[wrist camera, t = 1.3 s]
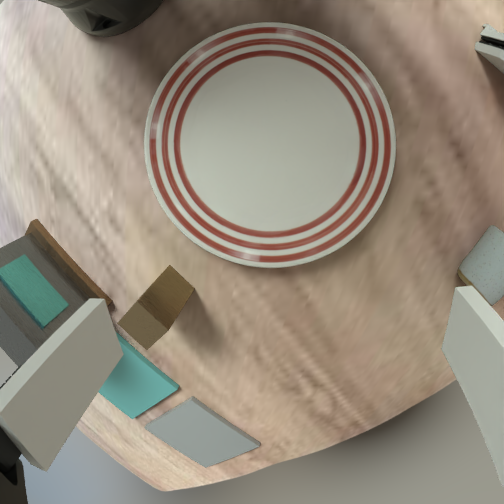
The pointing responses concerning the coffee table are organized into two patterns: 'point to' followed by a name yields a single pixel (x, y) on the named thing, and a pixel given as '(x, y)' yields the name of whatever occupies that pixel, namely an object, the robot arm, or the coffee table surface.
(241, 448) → the grey pad
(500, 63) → the napkin holder
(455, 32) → the coffee table surface
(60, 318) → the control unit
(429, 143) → the coffee table surface
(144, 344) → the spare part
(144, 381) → the teal pad
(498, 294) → the ceramic mug
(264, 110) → the dinner plate
